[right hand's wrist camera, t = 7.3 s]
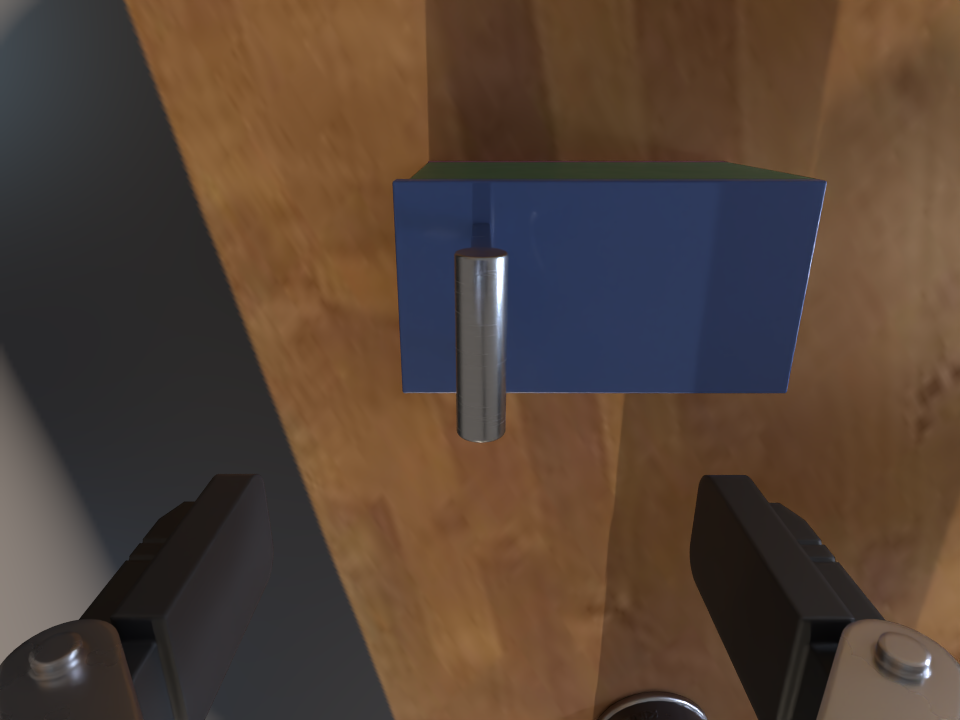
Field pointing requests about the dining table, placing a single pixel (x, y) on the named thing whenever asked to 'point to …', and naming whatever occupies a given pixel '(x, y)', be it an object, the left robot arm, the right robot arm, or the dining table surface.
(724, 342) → the lid
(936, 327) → the dining table surface
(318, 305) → the dining table surface
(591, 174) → the chest
